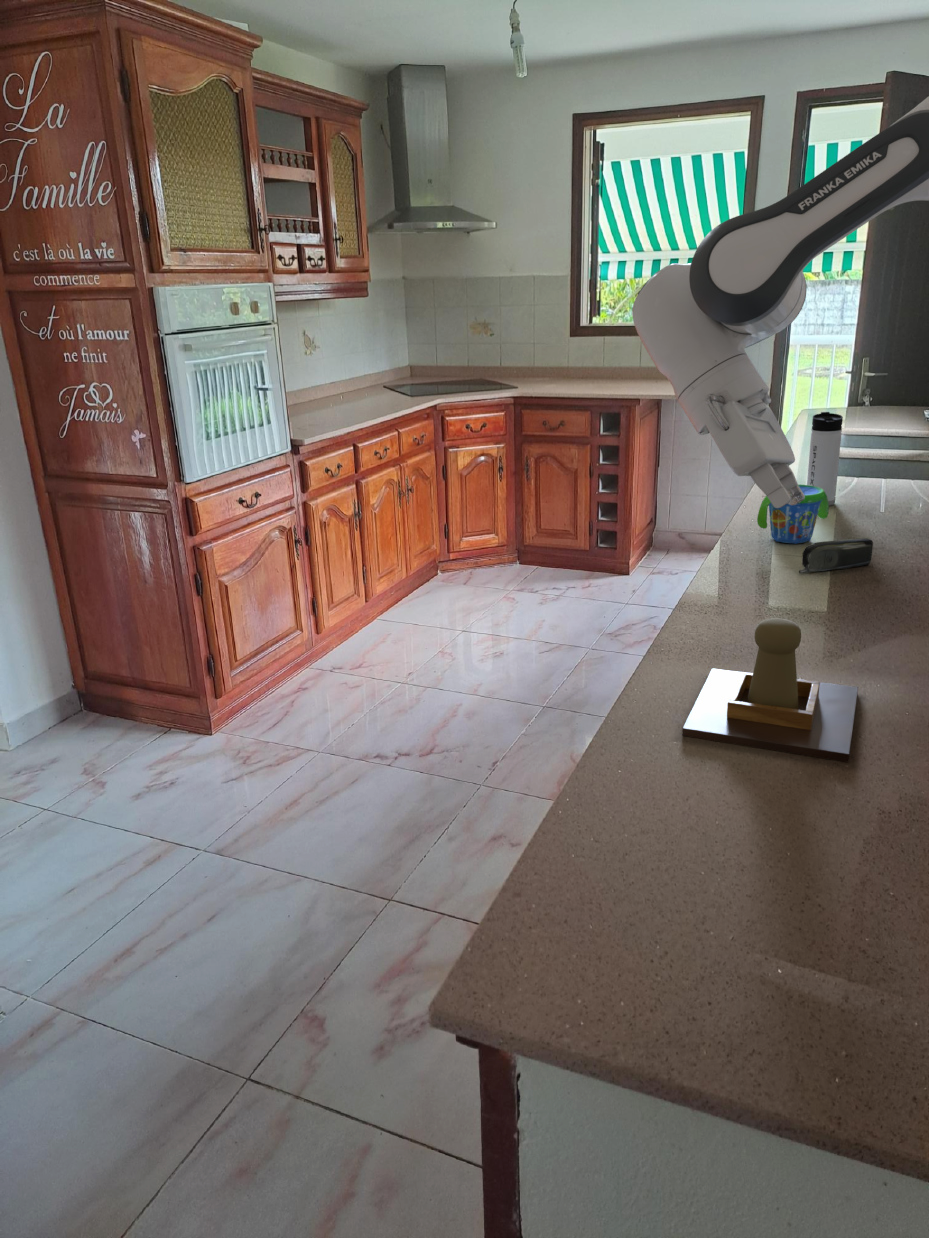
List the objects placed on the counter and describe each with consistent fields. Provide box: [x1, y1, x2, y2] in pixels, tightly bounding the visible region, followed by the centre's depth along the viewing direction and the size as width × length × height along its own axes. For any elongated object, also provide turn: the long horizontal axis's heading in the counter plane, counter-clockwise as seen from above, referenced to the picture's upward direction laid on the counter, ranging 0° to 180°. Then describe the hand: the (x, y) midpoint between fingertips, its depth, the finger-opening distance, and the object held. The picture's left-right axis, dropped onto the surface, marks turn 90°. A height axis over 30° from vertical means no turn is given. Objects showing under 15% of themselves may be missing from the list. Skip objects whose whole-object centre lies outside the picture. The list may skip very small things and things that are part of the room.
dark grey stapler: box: [798, 537, 874, 575], centre depth 156 cm, size 5×3×15 cm
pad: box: [681, 668, 859, 763], centre depth 106 cm, size 18×18×3 cm
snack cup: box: [756, 484, 830, 545], centre depth 173 cm, size 16×10×10 cm
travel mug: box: [806, 411, 844, 507], centre depth 197 cm, size 6×7×20 cm
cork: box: [747, 617, 802, 710], centre depth 105 cm, size 6×6×11 cm
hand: (791, 504), depth 97 cm, fingers open, 8 cm apart
